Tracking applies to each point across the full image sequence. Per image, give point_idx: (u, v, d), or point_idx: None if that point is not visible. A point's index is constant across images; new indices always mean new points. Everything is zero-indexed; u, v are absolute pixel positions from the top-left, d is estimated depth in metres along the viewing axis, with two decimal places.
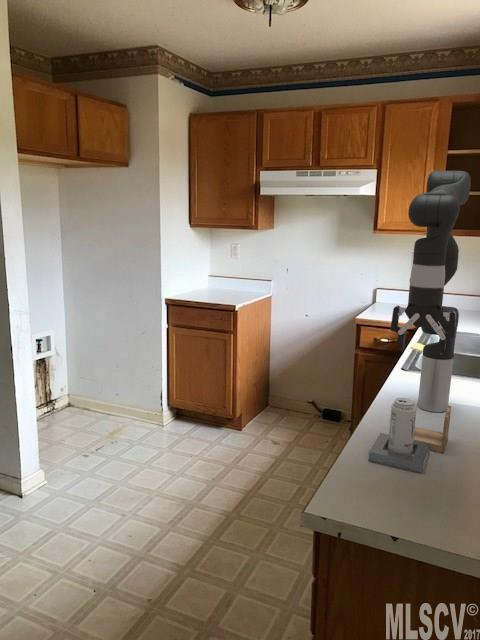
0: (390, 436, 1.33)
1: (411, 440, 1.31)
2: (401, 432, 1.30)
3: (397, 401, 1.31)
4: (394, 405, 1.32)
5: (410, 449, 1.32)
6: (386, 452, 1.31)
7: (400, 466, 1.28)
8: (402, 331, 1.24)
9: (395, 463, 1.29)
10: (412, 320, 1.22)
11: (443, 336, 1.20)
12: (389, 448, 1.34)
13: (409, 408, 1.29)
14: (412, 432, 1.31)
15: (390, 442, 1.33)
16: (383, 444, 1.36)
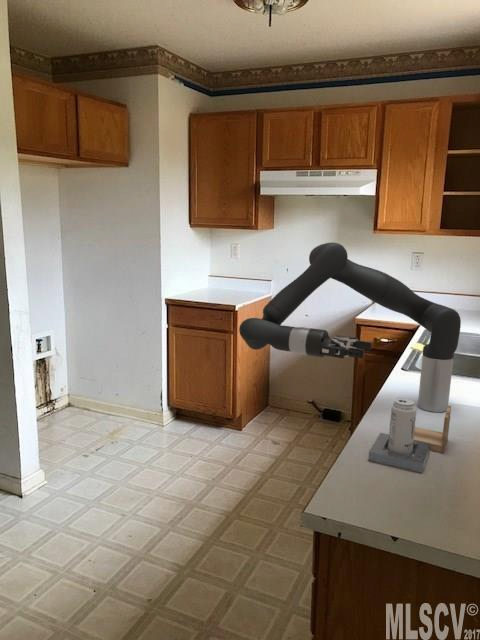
0: (390, 436, 1.33)
1: (411, 440, 1.31)
2: (401, 432, 1.30)
3: (397, 401, 1.31)
4: (394, 405, 1.32)
5: (410, 449, 1.32)
6: (386, 452, 1.31)
7: (400, 466, 1.28)
8: (353, 348, 1.43)
9: (395, 463, 1.29)
10: None
11: None
12: (389, 448, 1.34)
13: (409, 408, 1.29)
14: (412, 432, 1.31)
15: (390, 442, 1.33)
16: (383, 444, 1.36)
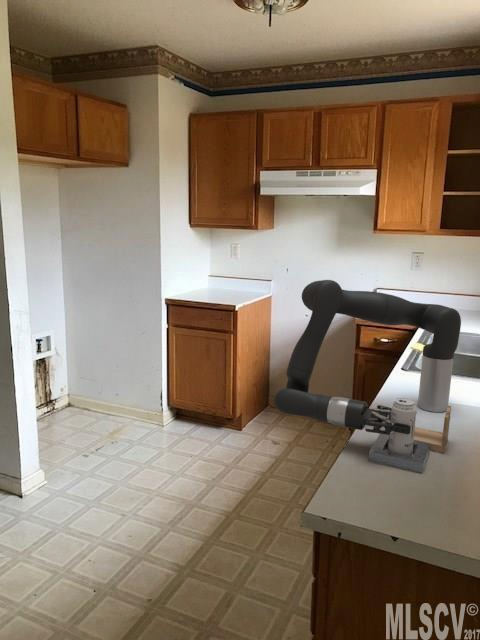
0: (390, 436, 1.33)
1: (411, 440, 1.31)
2: None
3: (397, 401, 1.31)
4: (394, 405, 1.31)
5: (410, 449, 1.32)
6: (386, 452, 1.31)
7: (400, 466, 1.28)
8: None
9: (395, 463, 1.29)
10: None
11: None
12: (389, 448, 1.34)
13: (409, 408, 1.29)
14: (412, 432, 1.31)
15: (390, 442, 1.33)
16: (383, 444, 1.36)
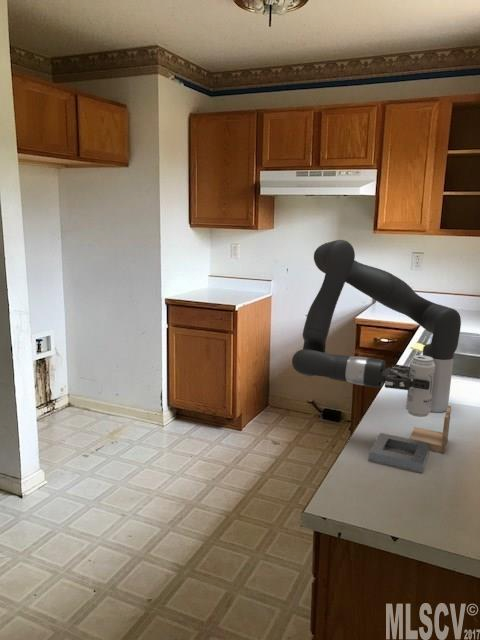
0: (409, 392, 1.35)
1: (430, 396, 1.33)
2: None
3: (416, 358, 1.33)
4: (413, 361, 1.33)
5: (429, 405, 1.33)
6: (386, 452, 1.31)
7: (400, 466, 1.28)
8: None
9: (395, 463, 1.29)
10: None
11: None
12: (408, 405, 1.35)
13: (428, 364, 1.31)
14: (431, 388, 1.32)
15: (409, 399, 1.35)
16: (383, 444, 1.36)
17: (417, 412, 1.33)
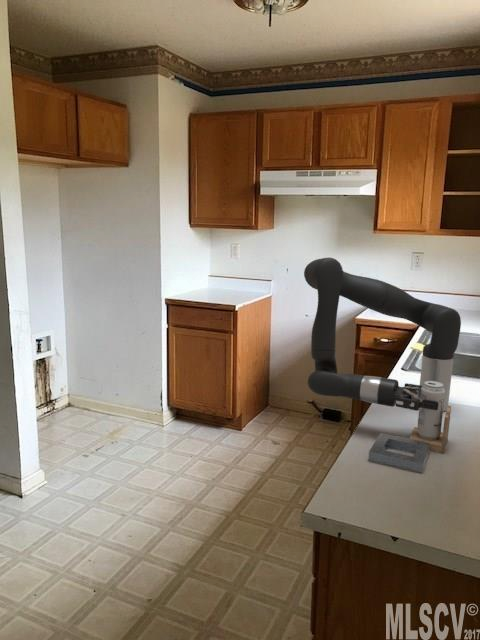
0: (419, 416, 1.41)
1: (440, 420, 1.39)
2: (430, 412, 1.38)
3: (426, 384, 1.39)
4: (424, 387, 1.39)
5: (439, 429, 1.40)
6: (386, 452, 1.31)
7: (400, 466, 1.28)
8: None
9: (395, 463, 1.29)
10: None
11: None
12: (419, 428, 1.42)
13: (438, 390, 1.37)
14: (441, 413, 1.39)
15: (420, 422, 1.41)
16: (383, 444, 1.36)
17: (428, 435, 1.40)
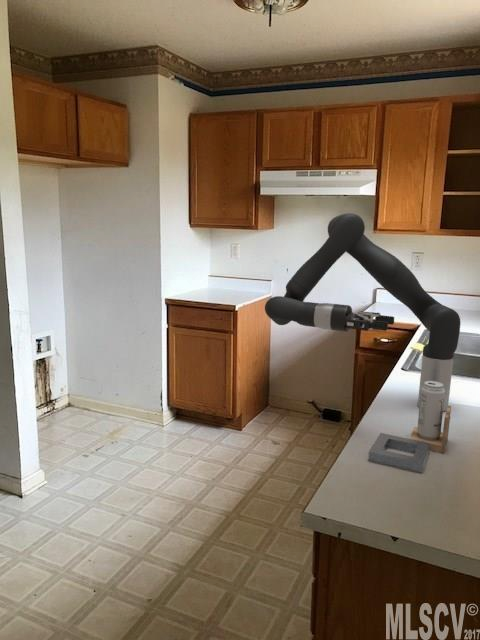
0: (419, 416, 1.41)
1: (440, 420, 1.39)
2: (430, 412, 1.38)
3: (426, 384, 1.39)
4: (424, 387, 1.39)
5: (439, 429, 1.40)
6: (386, 452, 1.31)
7: (400, 466, 1.28)
8: None
9: (395, 463, 1.29)
10: None
11: None
12: (419, 428, 1.42)
13: (438, 390, 1.37)
14: (441, 413, 1.39)
15: (420, 422, 1.41)
16: (383, 444, 1.36)
17: (428, 435, 1.40)
